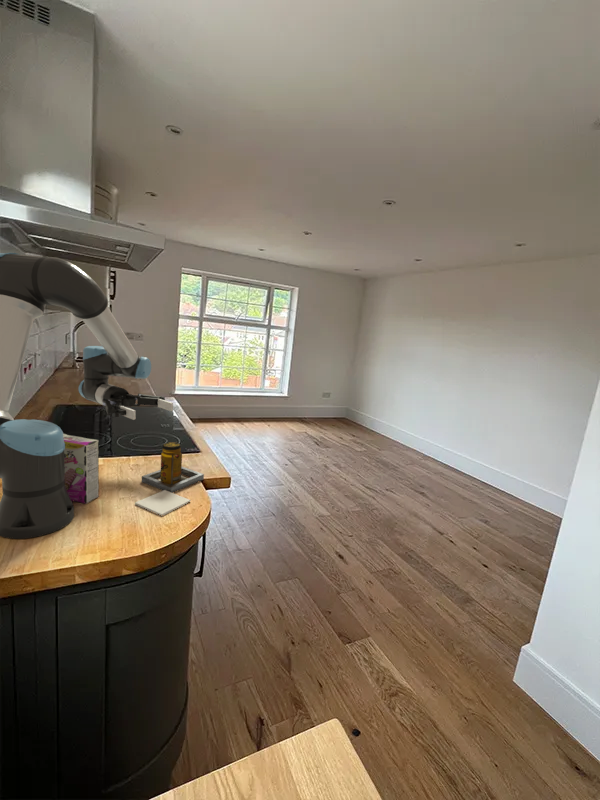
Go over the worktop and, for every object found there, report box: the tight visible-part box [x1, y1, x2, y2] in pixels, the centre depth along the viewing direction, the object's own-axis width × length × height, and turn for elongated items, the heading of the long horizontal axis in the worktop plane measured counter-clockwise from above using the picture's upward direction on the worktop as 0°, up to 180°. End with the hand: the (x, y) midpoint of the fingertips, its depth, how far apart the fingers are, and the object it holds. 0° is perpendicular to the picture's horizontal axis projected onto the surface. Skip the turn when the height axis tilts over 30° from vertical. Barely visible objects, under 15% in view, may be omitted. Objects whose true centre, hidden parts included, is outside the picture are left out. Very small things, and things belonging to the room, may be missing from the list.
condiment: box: [158, 441, 189, 485], centre depth 114 cm, size 7×8×12 cm
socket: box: [141, 466, 205, 493], centre depth 115 cm, size 13×12×2 cm
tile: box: [134, 490, 192, 517], centre depth 101 cm, size 10×10×1 cm
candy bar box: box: [63, 433, 100, 505], centre depth 98 cm, size 11×5×16 cm, turn 79°
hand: (154, 410), depth 115 cm, fingers open, 13 cm apart
